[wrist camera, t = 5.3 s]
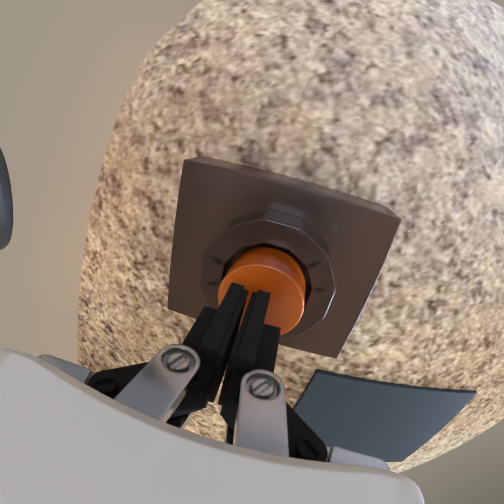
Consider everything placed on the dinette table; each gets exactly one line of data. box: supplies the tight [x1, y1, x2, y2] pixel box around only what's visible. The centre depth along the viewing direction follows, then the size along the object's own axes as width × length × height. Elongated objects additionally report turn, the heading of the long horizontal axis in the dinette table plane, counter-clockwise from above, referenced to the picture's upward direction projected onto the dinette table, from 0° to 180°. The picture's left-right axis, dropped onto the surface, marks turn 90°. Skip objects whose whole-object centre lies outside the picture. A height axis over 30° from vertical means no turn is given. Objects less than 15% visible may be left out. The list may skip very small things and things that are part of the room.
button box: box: [168, 157, 401, 358], centre depth 16 cm, size 12×10×4 cm
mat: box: [293, 370, 477, 462], centre depth 23 cm, size 20×16×1 cm
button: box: [218, 248, 305, 335], centre depth 13 cm, size 4×4×2 cm
